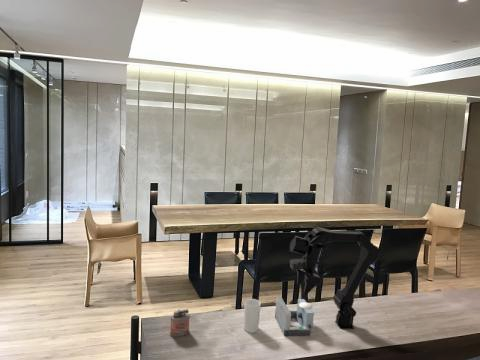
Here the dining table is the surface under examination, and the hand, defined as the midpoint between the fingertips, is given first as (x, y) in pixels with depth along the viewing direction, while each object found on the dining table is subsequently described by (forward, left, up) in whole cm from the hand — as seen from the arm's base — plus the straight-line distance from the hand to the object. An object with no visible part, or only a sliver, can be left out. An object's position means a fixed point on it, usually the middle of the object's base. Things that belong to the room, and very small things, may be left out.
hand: (301, 290), depth 175 cm
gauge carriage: (-3, +1, -16) cm, 16 cm away
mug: (+21, 0, -17) cm, 27 cm away
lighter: (+51, +4, -17) cm, 54 cm away
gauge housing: (+3, 0, -17) cm, 17 cm away
